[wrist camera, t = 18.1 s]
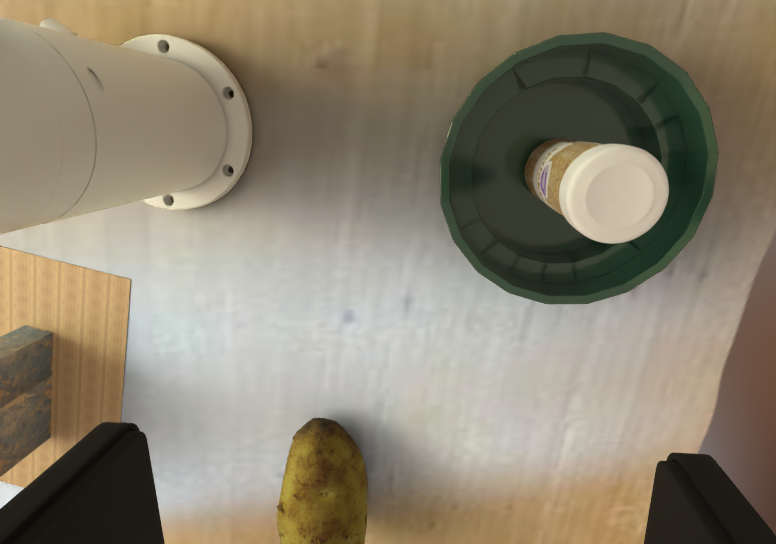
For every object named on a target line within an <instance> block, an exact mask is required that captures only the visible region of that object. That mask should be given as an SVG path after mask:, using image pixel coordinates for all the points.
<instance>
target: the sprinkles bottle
mask: <svg viewBox="0 0 776 544" xmlns="http://www.w3.org/2000/svg"><path fill="white" fill-rule="evenodd" d="M524 176H525V181H526V184H527V186H528V188H529V190H530V191H531V193H532V194H533V195H534V196H535V197H537V198H538V199H540V200H542V201H543V202H544V203H546V204H547V205H548V206H549V207H551V208H552V209H553V210H555V211H556V212H558V213H560V214H561V215H563V216H564V217H565V218H566V220H567V221H568V222H569V224H570V225H571V226H572V227H574V228H575V229H576V230H577V231H579V232H580V233H581V234H583V235H585V236H586V237H588V238H590V239H592V240H594V241H598V242H602V243H610V244H614V243H623V242H627V241H630V240H633V239H635V238H637V237H639V236H641V235H642V234H644V233H645V232H647V231H648V230H649V229H651V227H652V226H654V225H655V223H656V222H657V221H658V220H659V218H660V217H661V215H662V213H663V211H664V209H665V207H666V204H667V200H668V195H669V185H668V179H667V175H666V173H665V170H664V169H663V167H662V165H661V164H660V162H659V161H658V160H657V159H656V158H655V157H654V156H653V155H651V154H650V153H648V152H647V151H645V150H643V149H640V148H637V147H634V146H629V145H623V144H599V143H591V142H582V141H575V142H573V141H571V140H568V139H560V138H558V139H552V140H549V141H546V142H544V143H543V144H541V145H539V146H538V147H537V148H536V149H535V150H534V151H533V152H532V153H531V155H530V156H529V158H528V161H527V163H526V166H525V173H524Z"/></svg>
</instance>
